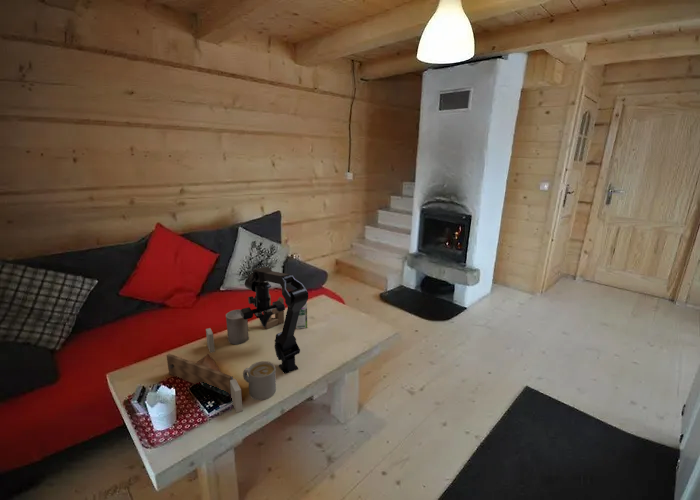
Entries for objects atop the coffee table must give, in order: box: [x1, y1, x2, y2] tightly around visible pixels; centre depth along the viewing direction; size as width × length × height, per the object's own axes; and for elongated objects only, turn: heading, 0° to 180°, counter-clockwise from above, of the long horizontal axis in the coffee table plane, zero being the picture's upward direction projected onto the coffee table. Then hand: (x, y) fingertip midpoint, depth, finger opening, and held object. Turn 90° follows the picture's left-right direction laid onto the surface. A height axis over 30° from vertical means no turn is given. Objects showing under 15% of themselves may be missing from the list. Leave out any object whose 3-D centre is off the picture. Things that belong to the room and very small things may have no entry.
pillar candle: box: [225, 309, 250, 346], centre depth 166 cm, size 10×10×15 cm
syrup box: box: [295, 301, 308, 330], centre depth 180 cm, size 6×6×14 cm
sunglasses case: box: [196, 353, 222, 373], centre depth 143 cm, size 18×7×7 cm, turn 39°
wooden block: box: [263, 293, 285, 330], centre depth 180 cm, size 4×11×18 cm, turn 135°
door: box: [165, 353, 232, 394], centre depth 134 cm, size 32×2×9 cm, turn 66°
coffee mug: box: [242, 360, 277, 401], centre depth 133 cm, size 13×10×10 cm
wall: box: [205, 327, 243, 414], centre depth 141 cm, size 49×2×9 cm, turn 33°
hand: (263, 326), depth 157 cm, fingers closed
